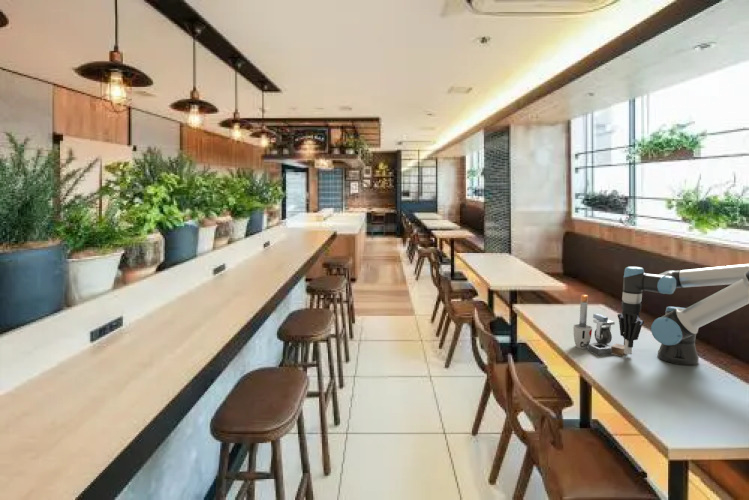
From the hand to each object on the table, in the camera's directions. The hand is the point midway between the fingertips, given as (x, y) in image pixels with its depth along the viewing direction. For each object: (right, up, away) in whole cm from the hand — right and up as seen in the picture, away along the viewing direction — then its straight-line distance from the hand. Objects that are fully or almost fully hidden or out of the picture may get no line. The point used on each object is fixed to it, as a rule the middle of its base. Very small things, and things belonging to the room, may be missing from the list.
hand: (627, 353), depth 210 cm
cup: (-15, 0, +13) cm, 20 cm away
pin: (-15, +10, +12) cm, 21 cm away
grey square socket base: (-10, -1, +6) cm, 11 cm away
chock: (-1, -1, +5) cm, 5 cm away
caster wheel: (-3, +1, +18) cm, 18 cm away
